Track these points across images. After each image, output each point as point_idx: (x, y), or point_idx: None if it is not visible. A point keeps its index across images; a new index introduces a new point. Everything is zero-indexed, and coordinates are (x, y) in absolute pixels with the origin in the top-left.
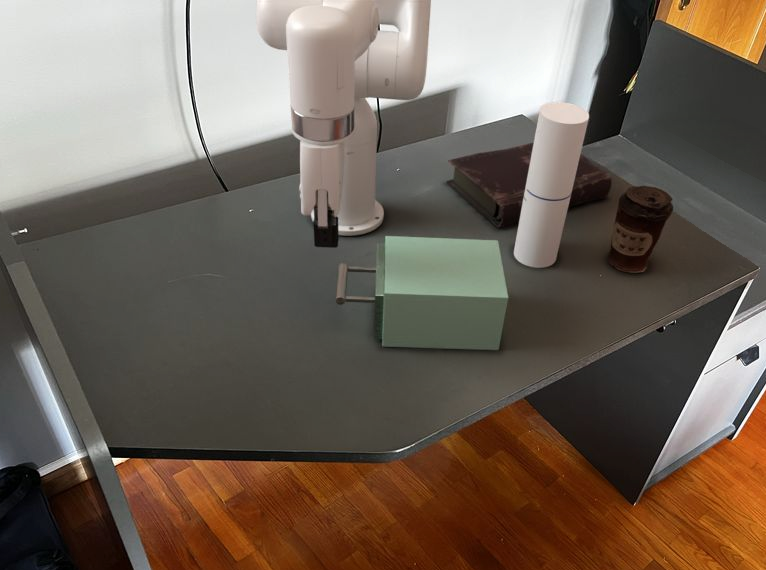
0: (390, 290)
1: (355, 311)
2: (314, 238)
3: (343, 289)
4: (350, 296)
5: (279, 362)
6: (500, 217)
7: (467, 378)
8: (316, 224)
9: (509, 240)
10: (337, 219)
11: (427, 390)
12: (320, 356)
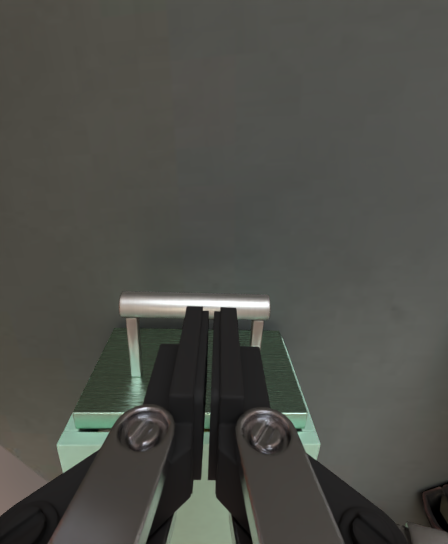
0: (70, 456)
1: (210, 289)
2: (183, 326)
3: (153, 316)
4: (136, 328)
5: (24, 137)
6: (440, 507)
7: (59, 438)
8: (120, 425)
9: (388, 498)
10: (215, 487)
11: (18, 392)
12: (63, 227)
